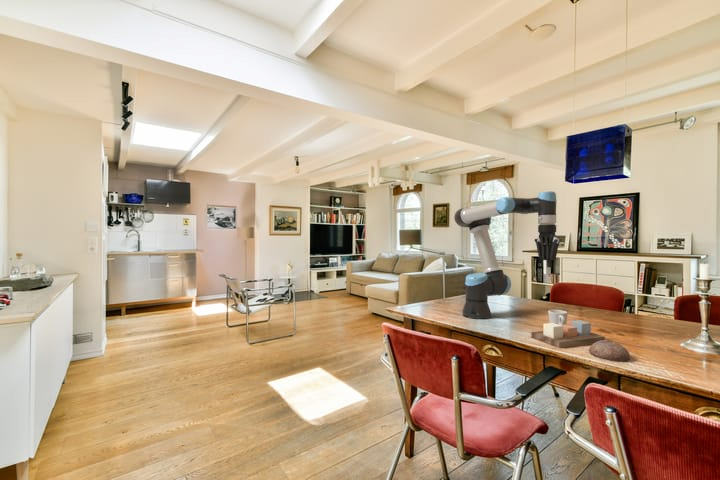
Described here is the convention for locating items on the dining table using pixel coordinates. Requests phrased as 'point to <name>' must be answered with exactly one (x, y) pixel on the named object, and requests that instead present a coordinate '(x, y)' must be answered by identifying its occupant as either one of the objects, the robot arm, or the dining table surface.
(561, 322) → the cup
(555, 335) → the block cream
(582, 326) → the block slate
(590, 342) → the walnut board
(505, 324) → the dining table surface
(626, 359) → the decorative stone
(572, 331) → the block terracotta
